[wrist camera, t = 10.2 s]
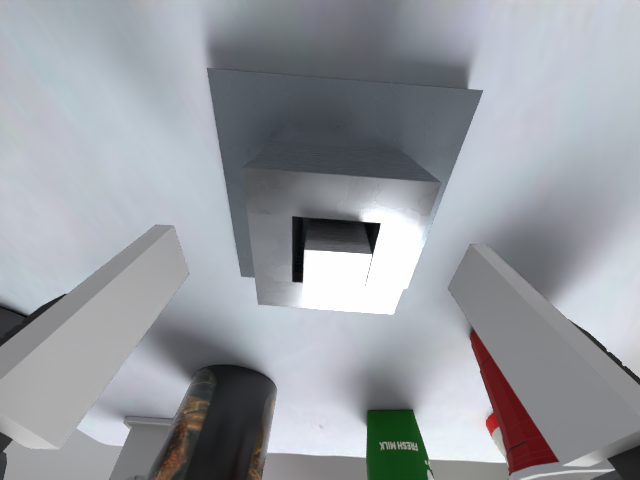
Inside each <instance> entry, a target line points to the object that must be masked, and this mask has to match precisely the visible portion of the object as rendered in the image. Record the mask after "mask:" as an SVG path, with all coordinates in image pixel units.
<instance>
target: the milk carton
mask: <svg viewBox="0 0 640 480" xmlns="http://www.w3.org/2000/svg"><path fill="white" fill-rule="evenodd" d="M366 463H367V477H368V480H434V477H433V473H432V470H431V466H430V462H429V459H428V455H427V452H426V449H425V446H424V443H423V440H422V437H421V434H420V431H419V428H418V425H417V422H416V419H415V416H414V413H413V410H397V411H368V415H367V451H366Z"/></svg>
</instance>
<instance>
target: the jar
mask: <svg viewBox="0 0 640 480" xmlns="http://www.w3.org/2000/svg"><path fill="white" fill-rule="evenodd" d="M276 394H277V389H276V387H275V385H274V384H273V382H272V381H271V380H269V379H268V378H267V377H265V376H263V375H262V374H260V373H257V372H255V371H252V370H249V369H246V368H242V367H237V366H229V365H216V366H209V367H206V368H203V369H201V370H199V371H198V372H197V373H196V374H195V376H194V378H193V380H192V382H191V384H190V386H189V388H188V390H187V392H186V394H185V396H184V398H183V400H182V402H181V404H180V407H179V409H178V411H177V413H176V415H175V417H174V419H173V421H172V423H171V425H170V428H169V430H168V432H167V434H166V436H165V438H164V440H163V442H162V445H161V447H160V449H159V451H158V453H157V455H156V457H155V460H154V462H153V464H152V466H151V468H150V471H149V473H148V475H147V477H146V479H145V480H262V476H263V470H264V465H265V459H266V453H267V448H268V442H269V436H270V431H271V425H272V419H273V413H274V407H275V401H276Z"/></svg>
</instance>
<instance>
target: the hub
mask: <svg viewBox="0 0 640 480" xmlns="http://www.w3.org/2000/svg"><path fill="white" fill-rule="evenodd" d="M242 174H243V182H244V190H245V199H246V207H247V215H248V224H249V232H250V241H251V249H252V257H253V266H254V274H255V282H256V291H257V299H258V305H272V306H286V307H300V308H313V309H327V310H341V311H355V312H369V313H383V314H393V313H394V311H395V308H396V305H397V303H398V300H399V297H400V295H401V292H402V289H403V286H404V284H405V281H406V278H407V276H408V273H409V270H410V268H411V265H412V262H413V260H414V257H415V254H416V252H417V249H418V246H419V243H420V241H421V238H422V235H423V233H424V230H425V227H426V225H427V222H428V219H429V217H430V214H431V211H432V209H433V206H434V203H435V200H436V198H437V195H438V192H439V190H440V187H441V184H442V182H440V181H439V180H438V179H437V178H435V177H434V176H433V175H432V174H430V173H429V172H428V171H427V170H425V169H424V168H423V167H422V166H420V165H419V164H418V163H417V162H415V161H414V160H413V159H412V158H410V157H409V156H408V155H407V154H405V153H404V152H403V151H392V150H379V149H366V148H354V147H341V146H328V145H316V144H303V143H290V142H278V141H272V142H271V143H269V144H268V145H267V146H266V147H265V148H264V149H262V150H261V151H260V152H259V153H258V154H257V155H255V156H254V157H253V158H252V159H251V160H250V161H249V162H247V163H246V164H245V165H244V166H243V167H242ZM303 217H310V218H323V219H336V220H349V221H362V222H363V223H364V227H365V231H366V234H367V238H368V242H369V246H370V250H371V253H372V256H371V260H370V265H369V269H368V273H367V277H366V281H365V285H364V290H363V294H362V298H361V301H349V300H335V299H321V298H307V297H303V271H304V248H305V242H306V235H307V229H304V228H303Z"/></svg>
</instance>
